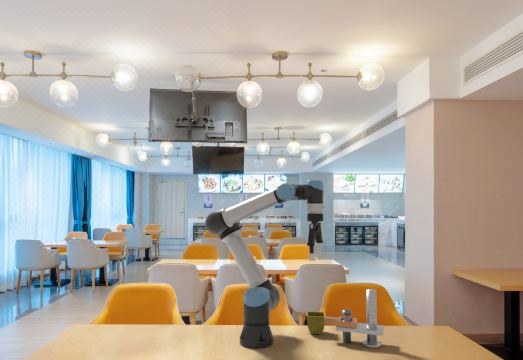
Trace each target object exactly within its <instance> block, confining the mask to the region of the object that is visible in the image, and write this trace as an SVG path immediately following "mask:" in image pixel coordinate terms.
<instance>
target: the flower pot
mask: <svg viewBox="0 0 523 360" xmlns="http://www.w3.org/2000/svg"><path fill="white" fill-rule="evenodd" d="M325 316H326V313H325V312H324V311H306V322H307V328H308V331H309V333H310V334H311V335H322V333H323V332H324V331H325V330H324V329H325V326H326V324H324V318H325Z"/></svg>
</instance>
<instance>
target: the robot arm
mask: <svg viewBox="0 0 523 360" xmlns="http://www.w3.org/2000/svg"><path fill="white" fill-rule="evenodd" d="M289 201H306V212H307V214H306V221H307V222H311V223H309V225H308V226H309V227H308V237H307V244H306V246H307V247H308V261H309V262H313V261H314V262H315V261H316V258H322V254H323V253H322V244H324V240H323V234H322V223H321V222H324V214H323V212H324V208H325V205H324V184H323V181H322V180H320V179H307V181H306V183H305V184H293V183H290V182H284V183H281V184H279V185H278V186H276V187H275V188H272V189H269V190H267V191H266V192H262V193H261V194H259V195H258V194H257V195H256V196H254V197H252V198H249V199H247V200H244V201H242V202H240V203H238V204H234V205H233V206H230V207H228V208H226V207H223V208H221V209H218V210H215V211H212V212H210V213H208V214H207V216H206V218H205V222H204V223H205V228H206V230H207V231H208V232H209V233H210V234H211V235H214V236H218V238H219V239H220V241H221V242H223V243H225V245H227V247H228V249H229V251H230V253H231V256H232V257H233V259H234V260H235V262H236V264H237V266H238V268H239V270H240V272H241V273H242V274H241V275H242V276H243V277H244V279H245V281H246V283H247V285H248V289H246V290H245V291H244V293H243V299H242V300H243V326H242V330H241V331H240V332H241V333H240V335H239V344H240V345H241V346H242V347H246V348H250V349H251V348H252V349H262V348H263V349H264V348H267V347H270V346H272V345H273V344H274V334H273V332H272V329H271V326H270V312H271V311H273V310H275V309H276V308H277V307H278V305H279V302H280V300H281V292H280V290H279V289H278V287H277V286H275V285H274V284H272V282H271V280H270V278H268V277H265V276H264V274H263V272H262V271H261V268H260V267H259V264H258V263H257V261H256V259H255V257H254V256H253V254H252V252H251V250H250V248H249V246H248V245H247V242H246V241H245V239H244V238H243V236H242V231H243V230H242V227H241V226H240V222H241V221H244V220H246V219H248V218H251V217H252V216H255V215H258V214H260V213H262V212H264V211H265V212H266V211H267V210H269V209H272V208H273V207H276V206H279V205H281V204H284V203H286V202H289Z"/></svg>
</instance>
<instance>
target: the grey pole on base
mask: <svg viewBox="0 0 523 360" xmlns="http://www.w3.org/2000/svg"><path fill="white" fill-rule="evenodd" d="M365 291H366V292H365V294H366V295H365V296H366V297H365V301H366V305H365V306H366V307H365V308H366V309H365V310H366V312H365V313H366V323H365V322H364V323H363V322H362V323H361V322H358V318H357V317H352V316H351V321H343V315H342V316H340V315H339V316H338V317H336V316H326V315H325V318H324V324H325V325H331V326H332V325H333V326H335V331H337V332H343V331H344V332H351V333H354V334H366V340H363V341H362V345H363V347H366V348H370V349H377V348H381V347H382V342H380V341H378V336H383V335H384V332H385V325H383V324H381V325H380V324H378V318H377V317H378V316H377V315H378V313H377V312H378V311H377V305H378V303H377V299H378V298H377V289H375V288H366V289H365Z"/></svg>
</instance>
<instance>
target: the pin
mask: <svg viewBox="0 0 523 360" xmlns="http://www.w3.org/2000/svg"><path fill="white" fill-rule="evenodd" d="M341 313H342V317H343V321H351V317H352V315H353V310H352V309H347V308H344V309H341ZM342 343H345V344H351V343H352V332H344V331H342Z"/></svg>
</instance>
